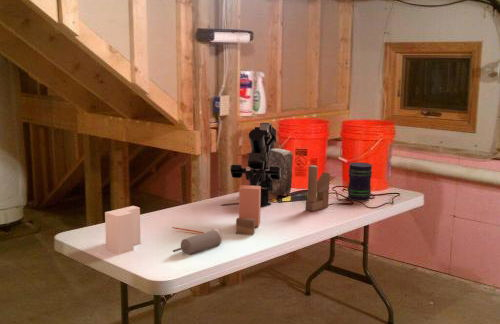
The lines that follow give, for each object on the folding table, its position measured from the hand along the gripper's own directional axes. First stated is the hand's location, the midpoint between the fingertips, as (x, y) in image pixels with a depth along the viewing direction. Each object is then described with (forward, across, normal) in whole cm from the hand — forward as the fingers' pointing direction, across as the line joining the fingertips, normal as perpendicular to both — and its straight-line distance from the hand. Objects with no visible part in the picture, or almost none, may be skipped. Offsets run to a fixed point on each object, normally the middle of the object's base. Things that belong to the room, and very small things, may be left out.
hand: (253, 190), depth 200 cm
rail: (+14, 0, +2) cm, 14 cm away
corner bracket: (+34, -36, -19) cm, 53 cm away
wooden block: (-6, +23, +22) cm, 33 cm away
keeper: (+13, 0, +2) cm, 13 cm away
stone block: (-22, +6, +38) cm, 44 cm away
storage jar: (-22, +41, +38) cm, 60 cm away
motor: (+30, -19, -14) cm, 38 cm away
